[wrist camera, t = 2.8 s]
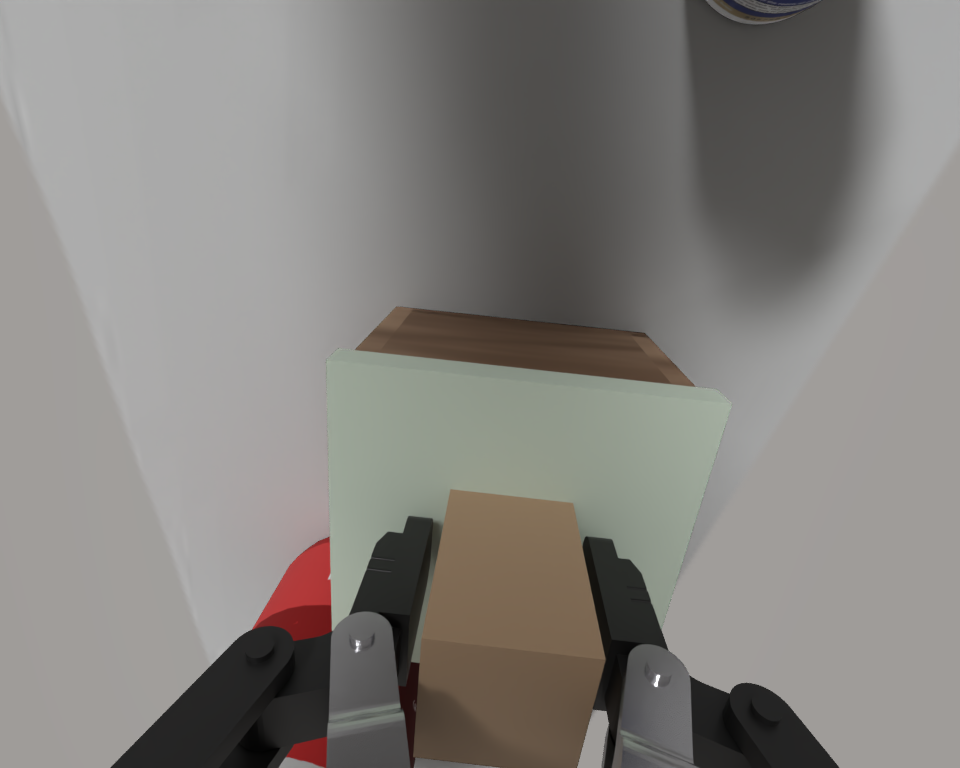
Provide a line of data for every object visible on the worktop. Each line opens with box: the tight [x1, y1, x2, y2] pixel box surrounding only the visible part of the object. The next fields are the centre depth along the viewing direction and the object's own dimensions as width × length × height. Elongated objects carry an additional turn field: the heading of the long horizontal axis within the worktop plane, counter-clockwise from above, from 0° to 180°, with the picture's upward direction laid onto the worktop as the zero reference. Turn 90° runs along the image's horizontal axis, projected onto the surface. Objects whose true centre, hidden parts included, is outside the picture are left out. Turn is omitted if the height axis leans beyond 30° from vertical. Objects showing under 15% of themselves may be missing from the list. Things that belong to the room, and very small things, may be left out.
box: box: [355, 307, 696, 387], centre depth 19 cm, size 10×10×6 cm
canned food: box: [252, 537, 420, 768], centre depth 20 cm, size 8×8×11 cm
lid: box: [326, 348, 732, 768], centre depth 13 cm, size 10×10×6 cm
